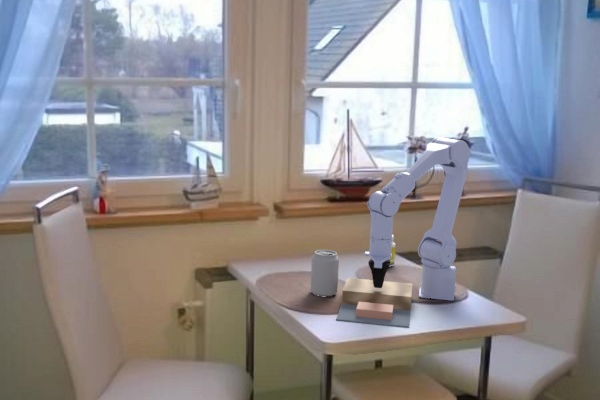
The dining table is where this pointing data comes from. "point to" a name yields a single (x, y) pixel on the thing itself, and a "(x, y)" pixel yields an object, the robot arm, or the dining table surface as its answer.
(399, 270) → the dining table surface
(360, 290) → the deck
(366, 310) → the pink rectangular block
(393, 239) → the supplement bottle
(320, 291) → the can
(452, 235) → the robot arm
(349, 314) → the mat
